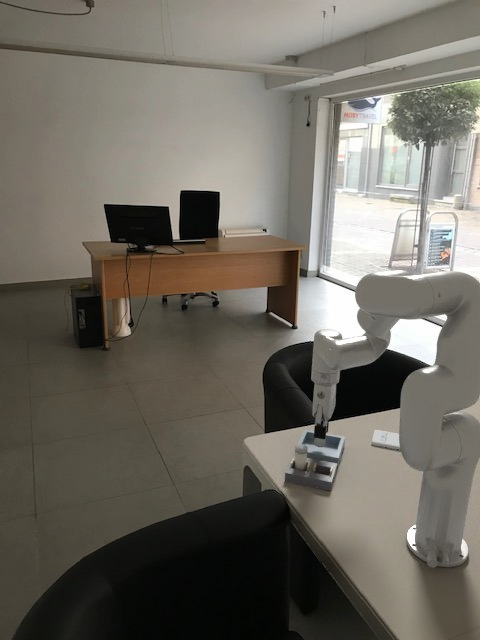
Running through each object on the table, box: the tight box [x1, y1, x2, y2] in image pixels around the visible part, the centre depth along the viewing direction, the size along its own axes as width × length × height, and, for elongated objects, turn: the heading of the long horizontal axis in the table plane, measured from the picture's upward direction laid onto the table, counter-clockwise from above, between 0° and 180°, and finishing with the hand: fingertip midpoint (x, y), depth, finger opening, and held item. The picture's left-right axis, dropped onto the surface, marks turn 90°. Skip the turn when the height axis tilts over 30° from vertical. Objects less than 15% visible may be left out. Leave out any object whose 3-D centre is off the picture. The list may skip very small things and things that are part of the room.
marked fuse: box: [314, 419, 328, 447], centre depth 148 cm, size 3×3×8 cm
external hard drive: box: [371, 429, 401, 451], centre depth 156 cm, size 2×8×12 cm
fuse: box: [294, 443, 308, 471], centre depth 138 cm, size 3×3×8 cm
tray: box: [297, 429, 346, 469], centre depth 150 cm, size 12×12×3 cm
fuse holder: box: [284, 454, 338, 492], centre depth 138 cm, size 9×12×4 cm
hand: (320, 434), depth 148 cm, fingers closed on marked fuse, 3 cm apart
